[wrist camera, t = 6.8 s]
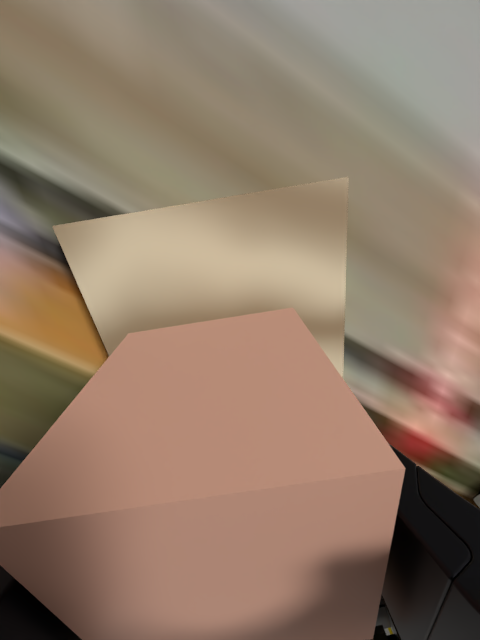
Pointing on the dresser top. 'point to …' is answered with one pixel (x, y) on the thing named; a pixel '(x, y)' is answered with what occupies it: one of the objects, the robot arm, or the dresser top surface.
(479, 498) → the skincare box
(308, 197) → the oak base
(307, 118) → the dresser top surface
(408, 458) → the robot arm
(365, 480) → the terracotta cube
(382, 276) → the dresser top surface
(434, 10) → the dresser top surface
